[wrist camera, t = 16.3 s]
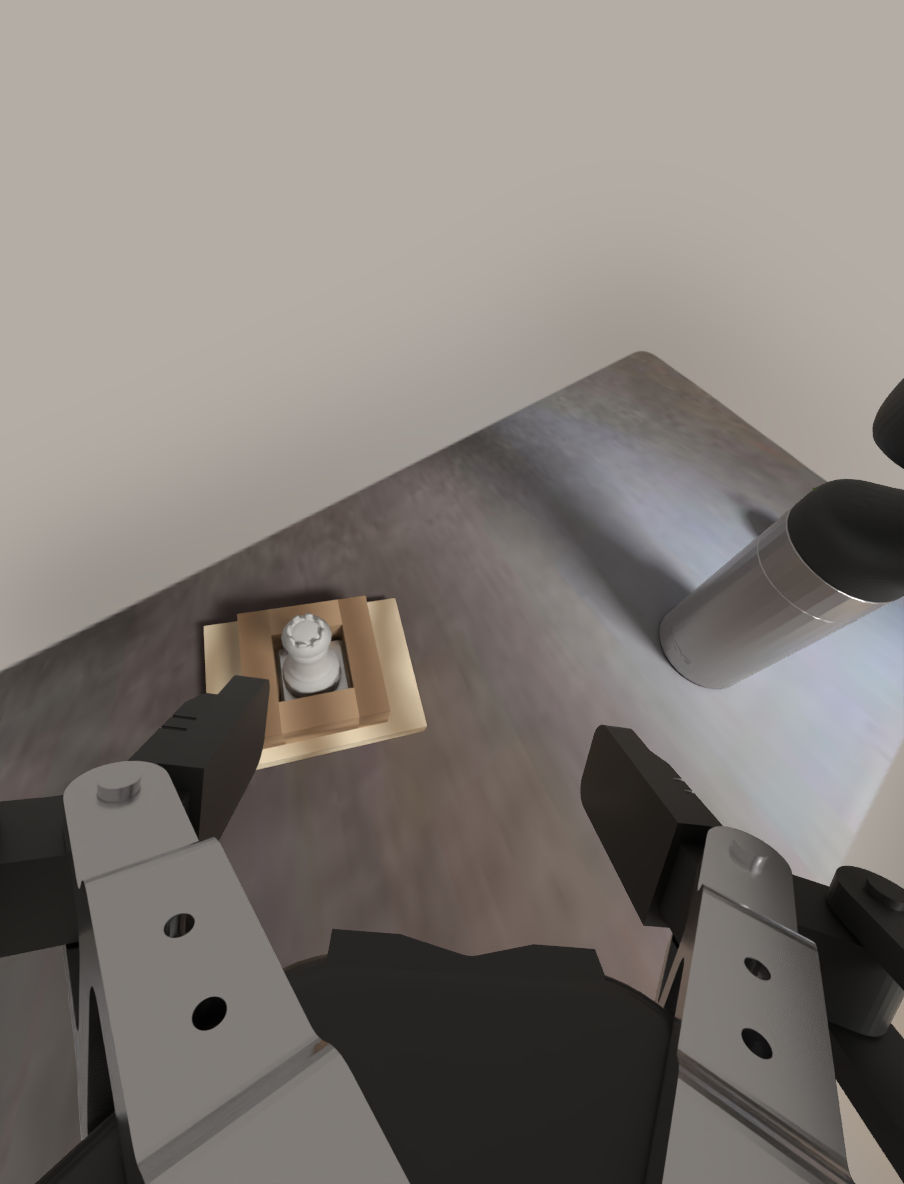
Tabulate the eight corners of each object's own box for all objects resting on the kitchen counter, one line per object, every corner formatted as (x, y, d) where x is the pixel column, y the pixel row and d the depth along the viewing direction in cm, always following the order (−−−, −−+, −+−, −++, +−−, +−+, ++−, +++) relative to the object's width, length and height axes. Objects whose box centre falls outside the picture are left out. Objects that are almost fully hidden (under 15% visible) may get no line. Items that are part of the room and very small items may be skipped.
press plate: (339, 643, 41) (339, 639, 41) (348, 697, 39) (349, 694, 39) (280, 653, 40) (278, 649, 39) (286, 710, 38) (285, 706, 37)
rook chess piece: (273, 663, 39) (259, 615, 32) (326, 639, 41) (323, 590, 34) (296, 711, 37) (286, 672, 30) (351, 685, 39) (352, 643, 32)
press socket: (393, 606, 46) (397, 580, 42) (424, 730, 40) (432, 714, 37) (208, 634, 41) (194, 608, 37) (214, 779, 36) (198, 766, 32)
